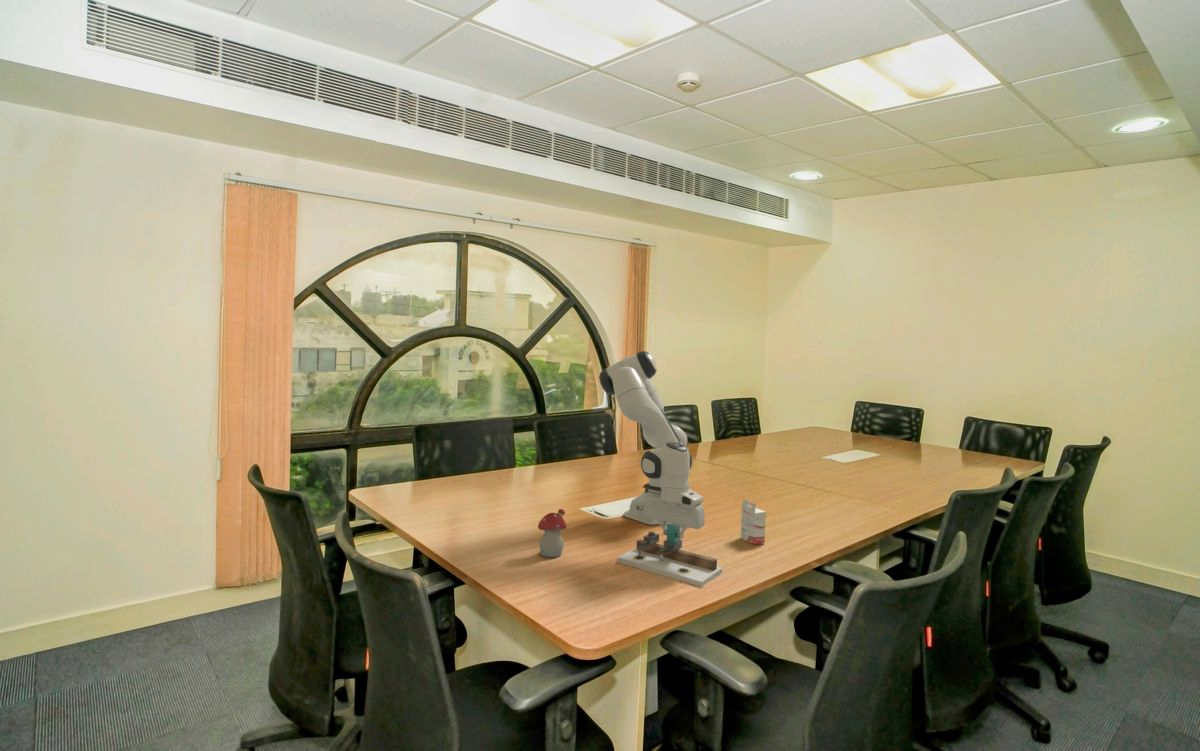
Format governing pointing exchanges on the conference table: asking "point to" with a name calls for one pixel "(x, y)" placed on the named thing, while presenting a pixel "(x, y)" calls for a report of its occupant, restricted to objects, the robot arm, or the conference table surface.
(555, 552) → the decorative ornament
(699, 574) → the bolt plate
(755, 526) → the ink cartridge box
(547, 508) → the conference table surface
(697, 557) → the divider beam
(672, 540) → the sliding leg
